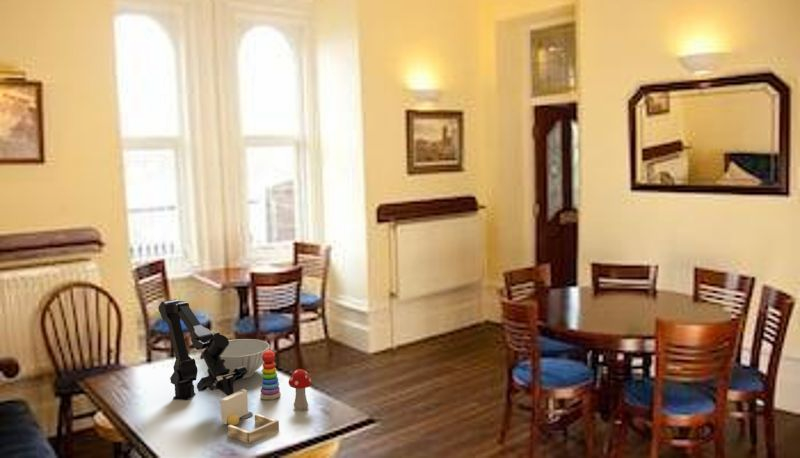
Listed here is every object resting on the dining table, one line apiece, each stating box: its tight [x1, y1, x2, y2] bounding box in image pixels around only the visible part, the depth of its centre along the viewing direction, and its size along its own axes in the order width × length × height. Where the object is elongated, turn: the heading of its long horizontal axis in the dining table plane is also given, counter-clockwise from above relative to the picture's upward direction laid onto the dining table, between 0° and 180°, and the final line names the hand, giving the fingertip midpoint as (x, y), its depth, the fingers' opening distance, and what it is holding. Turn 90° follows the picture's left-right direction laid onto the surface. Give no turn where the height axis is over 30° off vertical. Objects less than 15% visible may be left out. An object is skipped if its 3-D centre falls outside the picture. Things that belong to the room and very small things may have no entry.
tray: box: [227, 413, 280, 444], centre depth 235 cm, size 11×13×4 cm
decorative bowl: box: [220, 338, 271, 380], centre depth 296 cm, size 27×27×12 cm
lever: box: [220, 388, 249, 425], centre depth 246 cm, size 2×11×9 cm, turn 151°
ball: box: [227, 414, 240, 427], centre depth 241 cm, size 4×4×4 cm
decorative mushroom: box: [288, 368, 313, 412], centre depth 256 cm, size 10×9×15 cm
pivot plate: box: [239, 411, 253, 420], centre depth 250 cm, size 6×6×1 cm
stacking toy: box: [259, 349, 281, 401], centre depth 268 cm, size 8×8×19 cm
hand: (232, 398), depth 247 cm, fingers closed, pressing on lever
